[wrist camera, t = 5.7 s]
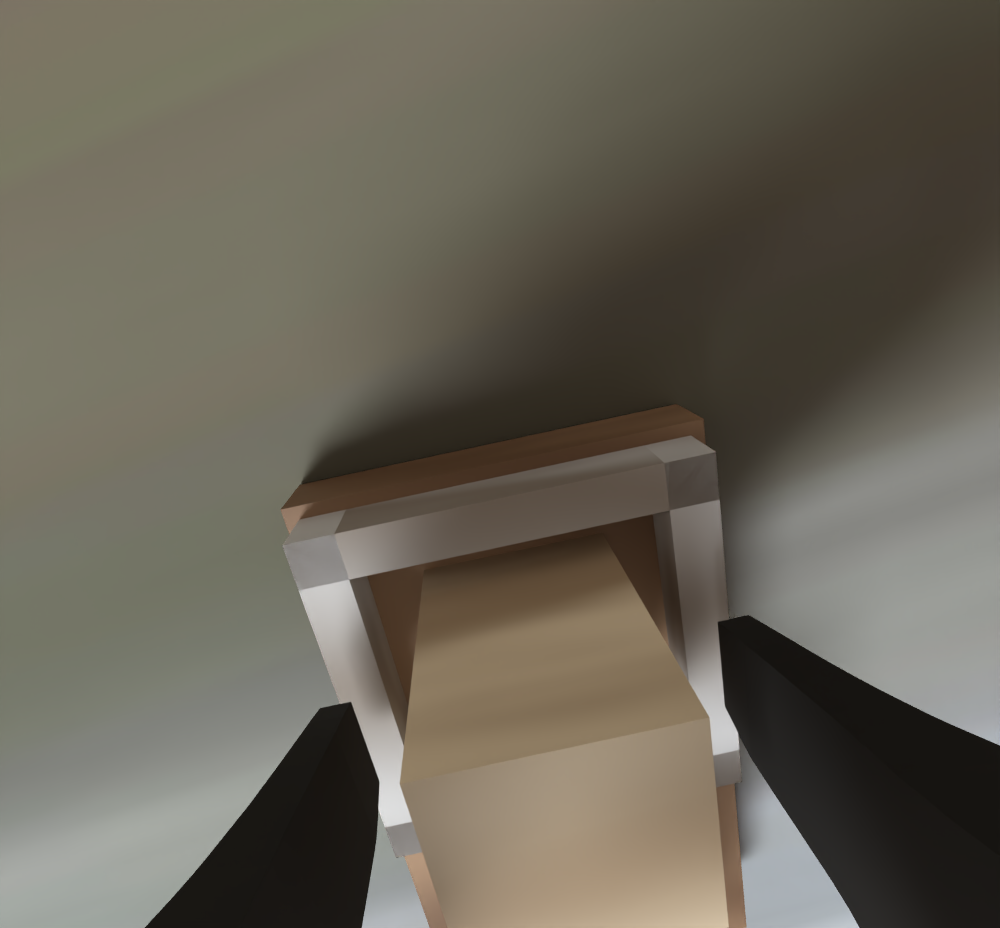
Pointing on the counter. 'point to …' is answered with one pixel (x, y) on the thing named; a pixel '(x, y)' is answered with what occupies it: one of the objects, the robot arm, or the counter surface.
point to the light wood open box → (505, 528)
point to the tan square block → (558, 750)
